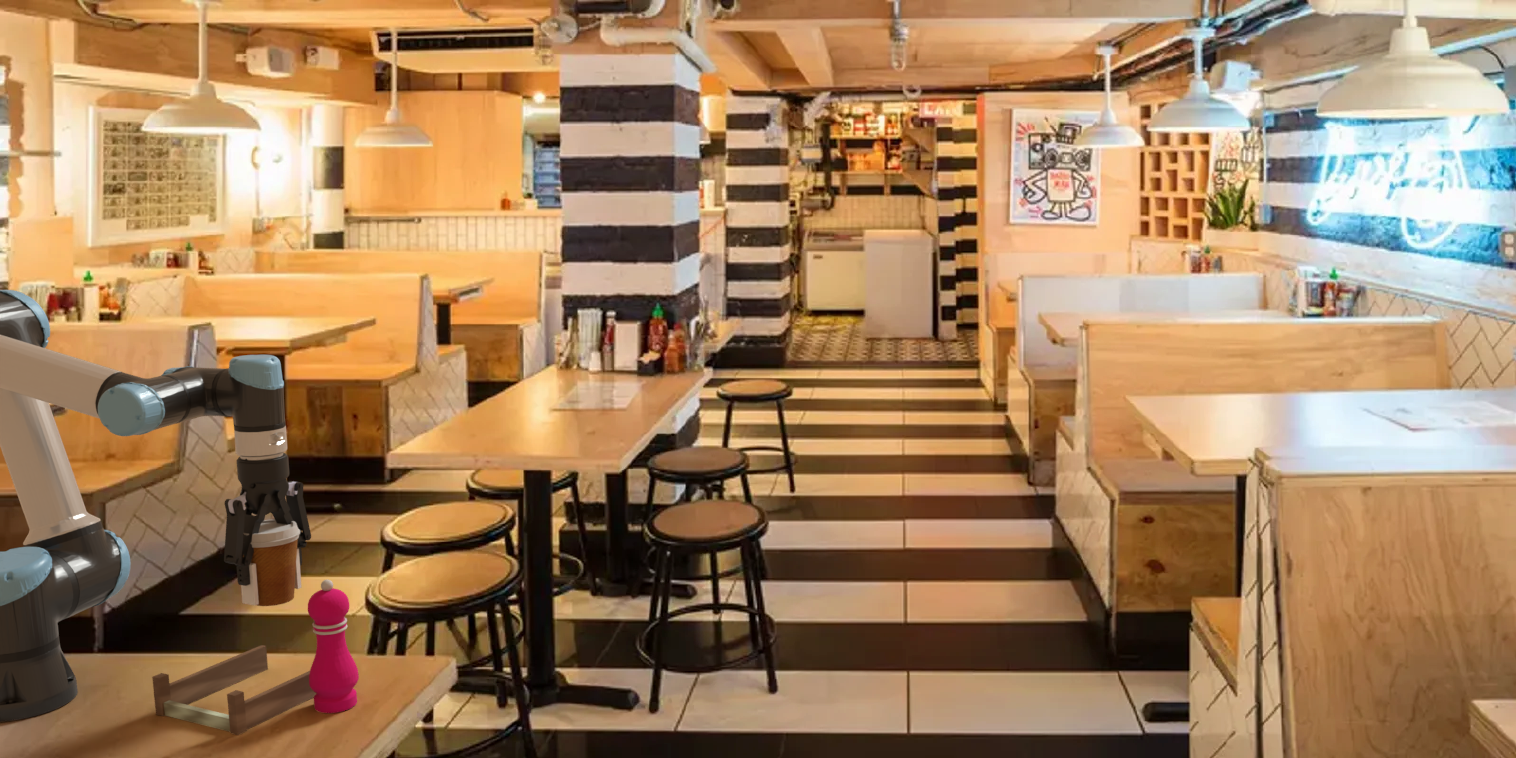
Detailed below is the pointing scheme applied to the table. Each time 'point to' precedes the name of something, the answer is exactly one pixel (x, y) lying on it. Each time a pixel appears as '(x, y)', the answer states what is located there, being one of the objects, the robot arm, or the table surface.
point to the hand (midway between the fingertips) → (272, 595)
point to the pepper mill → (331, 652)
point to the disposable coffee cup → (275, 561)
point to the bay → (229, 694)
